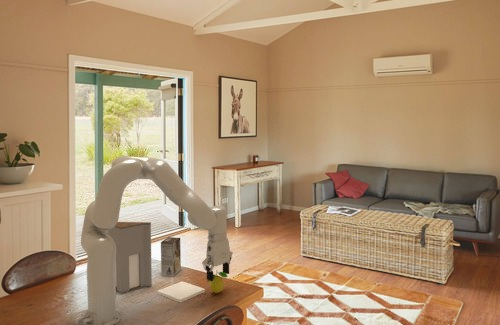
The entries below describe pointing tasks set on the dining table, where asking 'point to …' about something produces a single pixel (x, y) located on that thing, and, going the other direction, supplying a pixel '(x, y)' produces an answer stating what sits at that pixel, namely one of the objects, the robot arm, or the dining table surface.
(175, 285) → the plate
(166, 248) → the coffee box
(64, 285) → the dining table surface
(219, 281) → the lemon
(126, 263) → the cabinet
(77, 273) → the dining table surface
